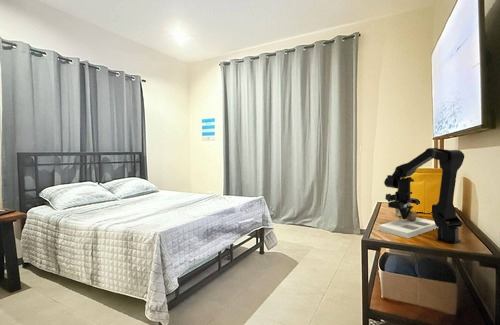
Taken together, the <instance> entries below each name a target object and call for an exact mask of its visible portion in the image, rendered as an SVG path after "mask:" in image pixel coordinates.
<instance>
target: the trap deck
mask: <svg viewBox="0 0 500 325" xmlns="http://www.w3.org/2000/svg"><path fill="white" fill-rule="evenodd" d="M377 226H378V231H380V232H384V233H387V234H391V235H394V236H398V237H401V238H405V239H411V238H413V237H416V236H419V234H420V235H422V234H425V233H427V232H428V233H429V232H430V231H434V230H437V229H438V227H437V226H436V225H435V222H434V220H431V219H426V218H421V217H416V221H411V220H407V219H405V220H404V219H403V218H400V219H396V220H392V221H390V222H386V223H383V224H382V223H381V224H378V225H377ZM436 228H437V229H436ZM433 229H434V230H433Z"/></svg>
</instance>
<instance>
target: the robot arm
mask: <svg viewBox="0 0 500 325" xmlns="http://www.w3.org/2000/svg"><path fill="white" fill-rule="evenodd" d="M433 159H434V160H437V161H438V162H439V166H440V168H441V180H440V187H439V195H438V201H437V203H433V205H432V212H431V213H432V214H431V218H432V219H433V221H434V222H435V225H436V226H437V227H439V228H437V229H436V230H437V233H436V234H437V235H436V236H437V237H436V241H441V242H444V243H448V244H452V245H455V244H457V243H460V242H461V240H462V239H460V238H459V237H460V236H459V235H460V232H459V231H460V230H459V229H460V228H461V227H462V225H463V224H464V223H463V221H462V220H461V219H460V218H459V217H458V216H457V209H456V208H455V206H454V195H455V188H456V181H457V180H456V179H457V174H458V171H459V170H460V168H461V166H463V163H464V160H465V154H464V153H463V151H461V150H460V149H443V148H438V147H428V148H426V149H425V151H423V152H422V153H420V154H418V155H417V156H416V157H414V158H413V159H411V160H410V161H408V162H406V163H403V164H400V165H398V166H395V169H394V172H393V173H392V174H387V176H386V177H385V179H384V181H383V184H384V186H385V187H387V188H390V189H391V188H392V189H397V191H395V193H394V194H392V193H386V194H385V198H384V199H385V200H386V201H387V202H388V203H387V206H388V208H391V209H395V210H396V209H399V211H400V213H401V216H402V217H401V219H404V220H405V219H406V218H407V216H408V214H409V212H410V211H412V209H413V208H414V206H413V205H411V204H414V205H415V204H416V205H418V204H420V201H419V200H418V199H416V198H414V197H411V195H413V191H411V182H412V183H414V182H415V180H414V179H413V178H412V175H414V174H415V173H416V171H417V169H418V168H420V167H422V166H423V165H425V164H426V163H428V162H429V161H431V160H433ZM397 201H398V202H397Z"/></svg>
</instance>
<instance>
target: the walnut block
mask: <svg viewBox="0 0 500 325" xmlns="http://www.w3.org/2000/svg"><path fill="white" fill-rule="evenodd" d="M417 216H418V213H416V212H414V211H412V210H411V211H410V212H409V214H408V216H407V218H406V219H407V220H411V221H416V217H417ZM417 218H418V217H417Z"/></svg>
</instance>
